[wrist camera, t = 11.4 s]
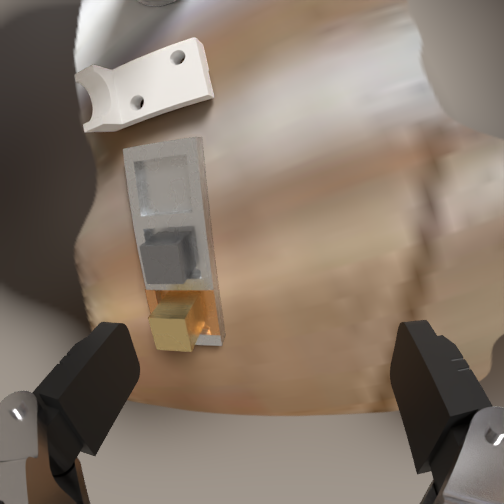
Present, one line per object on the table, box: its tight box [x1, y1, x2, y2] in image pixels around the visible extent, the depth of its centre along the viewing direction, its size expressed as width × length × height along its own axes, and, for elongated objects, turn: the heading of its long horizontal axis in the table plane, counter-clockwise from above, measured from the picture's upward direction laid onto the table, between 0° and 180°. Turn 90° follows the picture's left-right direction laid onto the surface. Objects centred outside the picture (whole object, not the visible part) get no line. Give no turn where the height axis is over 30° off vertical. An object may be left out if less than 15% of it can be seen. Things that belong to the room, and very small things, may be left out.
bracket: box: [75, 37, 214, 132], centre depth 29 cm, size 13×7×8 cm, turn 103°
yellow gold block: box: [148, 292, 205, 352], centre depth 37 cm, size 4×4×6 cm
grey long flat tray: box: [123, 137, 225, 346], centre depth 37 cm, size 26×9×3 cm, turn 4°
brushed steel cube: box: [139, 231, 196, 284], centre depth 35 cm, size 4×4×5 cm
